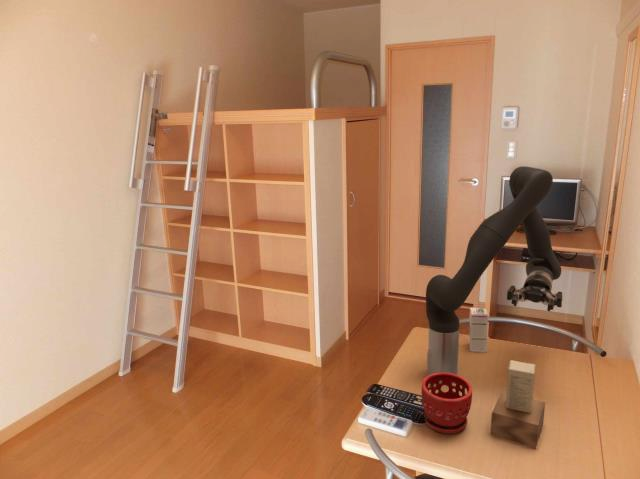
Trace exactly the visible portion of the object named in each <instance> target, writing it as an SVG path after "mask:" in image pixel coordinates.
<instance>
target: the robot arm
mask: <svg viewBox="0 0 640 479" xmlns="http://www.w3.org/2000/svg"><path fill="white" fill-rule="evenodd" d="M508 180H509V181H508V185H509V189H510V193H511V196H512V198H513V200H512V201H511V202H510V203H509V204H507V205H506V206H505V207H504V208H502V209H500V210H498V211H496V212H495V213H493V214H492V215H490V216H488V217H487V218H486V219H484V220H483V221H482V222H481V223H480V224H479V226H478V227H477V228H476V230H475V231H474V232H473V234H472V235H471V236H470V239H469V241H468V244H467V247H466V252H465V256H464V261H463V263H462V265H461V267H460V268H459V270H458V271H457V272H456V274H455V275H454V276H453V277H452V278H451V277H450V276H447V275H444V274H437V275H435V276H433V277H432V278H430V280H429V281H428V283H427V284H426V288H425V289H426V290H425V311H426V312H425V313H426V319H427V321H428V341H427V342H428V345H427V351H426V377H427V376H428V375H431V374H434V373H442V372H444V373H452V374H455V375H458V376H459V374H458V373H459V370H458V369H459V350H460V349H459V346H460V345H459V343H460V319H459V317H458V315H457V314H456V311H457V310H458V309H460V308H461V307H462V306H463V305H464V303H465V302H466V300H468V297H469V295H470V294H471V293H472V291H473V289H474V288H475V286H476V284H477V283H478V281H479V279H480V278H481V276H482V275H483V274H484V272H485V271H486V270H487V269H488V267H489V266H490V264H491V263H492V261H493V260H494V259H495V257H496V256H497V255H498V254H499V253H500V252H501V250H502V249H503V247H505V245H506V244H507V243H508V242H509V240H510V238H511V237H512V236H513V234H514V233H515V232H516V231H517V230H518V228H519V227H520V226H521V225H522V226H523V230H524V234H525V240H526V244H527V245H526V246H527V251H528V254H529V255H530V256H531V257H532V258H538V259H530V260H529V261H527V262H526V264H525V273H526V279H525V281H524V282H523V283H524V284H523V286H522V287H521V288H517V287H516V286H515V285H511V286H510V287H509V288H508V290H507V291H506V300H507V301H511V302H510V304H512V305H513V307H517V305H518V302H521V303H524V302H532V303H536V304H538V303H541V304H543V305H544V306H547V309H546V310H547V311H548V312H551V311H553V310H554V309H555V307H557V308H562V306H563V292H562V291H557V292H555V293H553V292H552V290H553V281H556V280H558V279H559V278H560V277H561V275H562V266H561V264H560V261H559V260H558V258H557V257H556V254H555V252H554V249H553V247H552V246H553V245H552V240H551V235H550V230H549V228H548V225H547V223H546V220H544V218H543V217H542V214H541V213H540V212H539V210H538V206H539V205H540V204H541V202H542V201H543V200H544V199H545V198H546V197H547V195H548V194H549V193H550V190H552V189H551V188H552V186H553V184H554V183H553V181H554V180H553V175H552V173H551V172H550V171H548V170H545V169H542V168H538V167H531V166H524V165H522V166H519V167H516V168H514V169H513V170H512V172H511V174H510V176H509V179H508ZM439 383H442V381H439ZM453 383H454V382H452V384H453Z"/></svg>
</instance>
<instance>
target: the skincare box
mask: <svg viewBox="0 0 640 479" xmlns="http://www.w3.org/2000/svg"><path fill="white" fill-rule="evenodd" d="M507 368H508V370H507V371H508V372H507V383H506V384H507V385H506V386H507V387H506V392H507V397H506V408H510V409H514V410H519V411H523V412H528V413H531V410H532V400H533V399H534V388H535V387H534V386H535V377H536V364H534V363H529V362H524V361H518V360H512V359H511V360H510V361H509V364H508V367H507Z"/></svg>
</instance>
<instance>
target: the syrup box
mask: <svg viewBox="0 0 640 479" xmlns="http://www.w3.org/2000/svg"><path fill="white" fill-rule="evenodd" d="M488 319H489V314H488V310H487V308H485V307H470V308H469V320H468V321H469V322H468V323H469V325H468V328H469V329H468V347H469V348H468V349H469V351H470V352H472V353H487V352H488V351H487V349H488V326H489V325H488V323H489V322H488V321H489V320H488Z"/></svg>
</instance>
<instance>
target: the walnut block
mask: <svg viewBox="0 0 640 479" xmlns="http://www.w3.org/2000/svg"><path fill="white" fill-rule="evenodd" d="M506 397H507V391H501V392H500V395H499V397H498V399H497V401H496V403H495V405H494V407H493V409H492V412H491V424H490V425H491V426H490V435H491V436H494V437H497V438H501V439H504V440H506V441H510V442H512V443H516V444H520V445H523V446H526V447H529V448H532V449H537V448H538V447H537V446H538V444H539V440H540V437H541V433H542V430H543V426H544V422H545V420H544V419H545V409H546V402H544V401H541V400H537V399H534V398H533V400H532V410H531V413H528V412H523V411H519V410H514V409H510V408H506Z"/></svg>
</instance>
